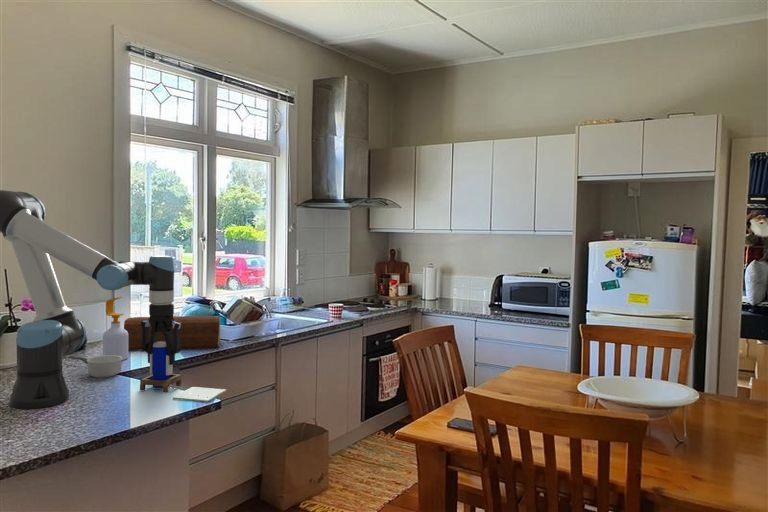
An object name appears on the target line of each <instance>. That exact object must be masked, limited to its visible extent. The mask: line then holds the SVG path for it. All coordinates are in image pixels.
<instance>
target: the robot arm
mask: <svg viewBox="0 0 768 512" xmlns="http://www.w3.org/2000/svg"><path fill="white" fill-rule="evenodd" d="M45 218H46V208H45V205H44V203H43V202H42V201H41V199H39V197H37V196H35V195H33V194H30V193H28V192H25V191H13V190H5V189H0V233H1V234H2V236H3V239H4V240H6V241H8V242H10V243H11V245H12V248H13V250H14V254H15V256H16V259H17V263H18V265H19V268H20V271H21V274H22V278H23V280H24V283H25V286H26V289H27V291H28V294H29V297H30V300H31V304H32V306H33V308H34V309H33V310H34V312H35V317H34V318H33V320H32V321H29V322H27V323H25V324H22V325H21V326H19V327H18V329H17V330H16V337H15V343H16V345H15V346H16V348H15V349H16V379H15V382H14V385H13V388H12V392H11V393H10V396H9V406H10V407H11V408H15V409H22V410H23V409H26V410H27V409H39V408H40V409H41V408H48V407H53V406H56V405H59V404H63V403H65V402H66V401H68V400H70V399H69V398H70V390H69V389H68V386H67V383H66V380H65V377H64V374H63V358H64V357H66V356H67V355H71V354H74V352H76V351H77V350H78V349H80V348H81V346H82V345H83V344H84V343H85V341H86V338H87V332H86V330H87V329H86V327H85V325H84V323H83V322H82V321H81V320H80V319H78V318H76V314H75V312H74V310H73V308H70V307H68V306H67V305H66V302H65V299H64V296H63V293H62V290H61V287H60V285H59V281H58V278H57V275H56V272H55V269H54V267H53V263H52V261H51V257H53V258H54V259H56V260H58V261H60V262H62V263H64V264H65V265H67V266H69V267H71V268H73V269H75V270H76V271H79V272H80V273H82V274H84V275H85V276H88V277H89V278H91V279H93V280H94V281H96V282H97V284H98V285H99V287H101V289H103V290H106V291H116V290H121V289H122V288H126V287H129V286H138V285H139V286H141V285H142V286H144V285H145V286H149V288H148V289H149V290H148V291H149V292H148V302H149V303H150V304H149V305H148V314H149V317H150V318H149V320H147V321H143V322H141V326H142V350H141V351H142V352H145V353H146V354H147V363H148V364H149V375H152V374H153V344H154V343H155V342H157V339H158V335H159V333H160V332H162V333H163V335H164V337H165V342H166V346H167V350H168V354H167V355H166V375H170V374H174V373H173V372H174V371H173V370H174V369H173V368H174V367H173V366H174V365H175V364H176V363H175V362H176V354H178V353H181V350H182V349H181V327H182V323H181V322H180V323H178V322H175V321H174V318H173V316H174V315H175V304H174V303H173V302H174V301H175V300H174V299H175V297H174V296H175V291H174V290H175V287H174V286H175V285H174V283H175V264H174V263H175V262H174V258H173V256H170V255H151V256H150V257H148V261H127V260H126V261H125V260H121V261H120V260H119V261H115V260H113V259H112V258H109V257H108V256H106V255H104V254H102V253H101V252H99V251H97V250H96V249H94V248H92V247H90V246H88V245H86V244H84V243H83V242H81V241H79V240H77V239H75V238H74V237H72V236H71V235H68V234H66V233H65V232H63V231H62V230H60V229H57V228H56V227H55V226H52V225H50V224H49V223H48V222H45V221H44V220H45ZM50 256H51V257H50ZM150 325H151V326H152V330H151V337H150ZM172 325H173V328H174V329H173V338H172V334H171V333H172V330H171V326H172Z"/></svg>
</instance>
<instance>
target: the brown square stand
mask: <svg viewBox="0 0 768 512" xmlns="http://www.w3.org/2000/svg"><path fill="white" fill-rule="evenodd" d="M139 381H140V384H139V391H140V390H144V391H146V390H145V389H146V387H147V386H152V387H153V386H163V390H162V393H163V392H167V393H169V387H168V385H169V386H170V385H172V384H175V385H176V387H181V386H182V374H179V373H178V374H177V373H172V374H170V378H169V379H167V380H165V381H164V380H153V374H149V375H148V376H146V377H143V378H141V379H140V380H139Z"/></svg>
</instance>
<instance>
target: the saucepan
mask: <svg viewBox="0 0 768 512" xmlns="http://www.w3.org/2000/svg"><path fill="white" fill-rule="evenodd" d="M68 359H72V360H78V361H82V362H84V363H85V364H87V374H88V375H89V376H91V377H93V378H108V377H114V376H116V375H118V374H119V373H121V372H122V361H121V359H122V357H120V356H113V355H108V356H103V355H98V356H92V357H89V358H87V357H83V356H73V355H70V356H68Z"/></svg>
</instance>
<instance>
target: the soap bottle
mask: <svg viewBox="0 0 768 512" xmlns="http://www.w3.org/2000/svg"><path fill="white" fill-rule="evenodd" d="M122 298H123V297H122V296H120V297H119V296H118V297H114V298H111V299H107V300H106V302H105V314H106V316H109V317H111V318H112V319H113V320H111V321H110V327H109V328H108V329H106V330H105V331H104V332H103V334H102V356H108V355H113V356H120V357H122V359H121V362H123V361H125V360H128V358H129V350H128V332H127V331H126V330H125V329H124V327H121V321H120V320H119V318H120V317H122V316H123V315H124V313H116V312H115V311H114V307H115V306H114V305H115V304H114V303H115V301H116V300H119V299H122Z"/></svg>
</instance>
